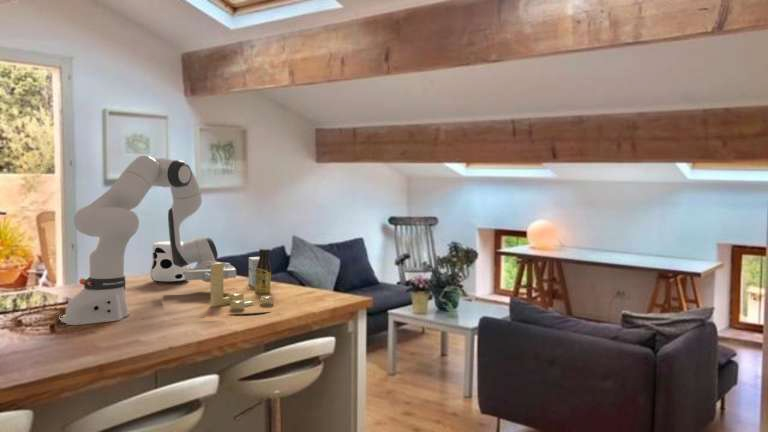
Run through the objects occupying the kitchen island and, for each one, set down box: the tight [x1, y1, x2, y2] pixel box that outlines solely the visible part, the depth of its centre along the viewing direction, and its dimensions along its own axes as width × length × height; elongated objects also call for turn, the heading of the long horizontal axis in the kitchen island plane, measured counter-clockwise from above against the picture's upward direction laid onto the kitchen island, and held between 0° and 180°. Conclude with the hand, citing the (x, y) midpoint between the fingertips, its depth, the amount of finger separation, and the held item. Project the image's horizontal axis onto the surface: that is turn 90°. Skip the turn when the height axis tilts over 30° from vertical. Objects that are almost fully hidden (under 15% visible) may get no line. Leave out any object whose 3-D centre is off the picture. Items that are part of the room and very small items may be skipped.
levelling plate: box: [228, 295, 274, 317], centre depth 240 cm, size 22×22×4 cm
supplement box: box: [248, 256, 260, 288], centre depth 288 cm, size 7×7×13 cm
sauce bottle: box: [254, 247, 272, 295], centre depth 265 cm, size 6×6×20 cm
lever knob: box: [210, 262, 245, 308], centre depth 242 cm, size 14×6×16 cm, turn 142°
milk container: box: [150, 240, 191, 284], centre depth 292 cm, size 17×17×18 cm
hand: (212, 276), depth 251 cm, fingers closed
